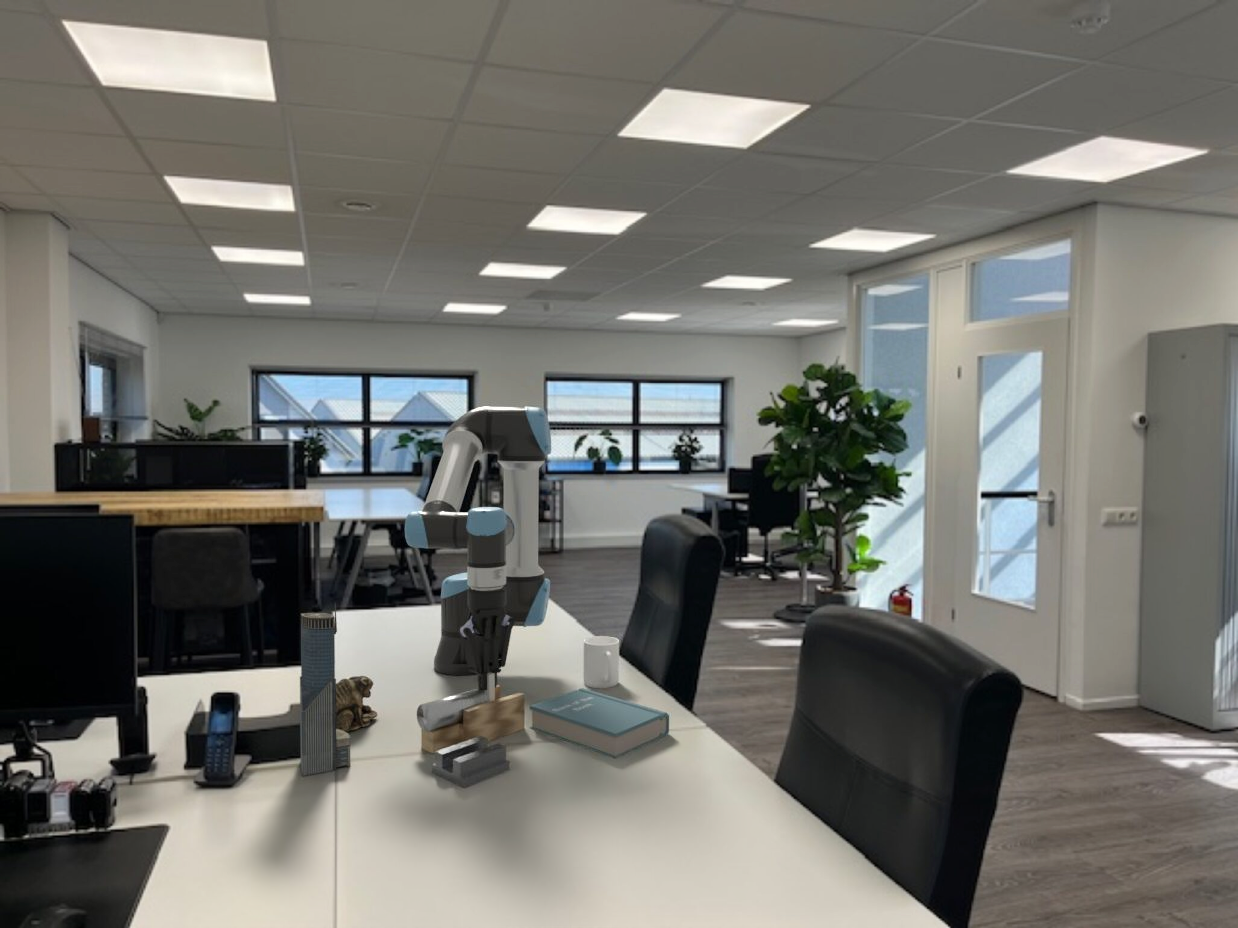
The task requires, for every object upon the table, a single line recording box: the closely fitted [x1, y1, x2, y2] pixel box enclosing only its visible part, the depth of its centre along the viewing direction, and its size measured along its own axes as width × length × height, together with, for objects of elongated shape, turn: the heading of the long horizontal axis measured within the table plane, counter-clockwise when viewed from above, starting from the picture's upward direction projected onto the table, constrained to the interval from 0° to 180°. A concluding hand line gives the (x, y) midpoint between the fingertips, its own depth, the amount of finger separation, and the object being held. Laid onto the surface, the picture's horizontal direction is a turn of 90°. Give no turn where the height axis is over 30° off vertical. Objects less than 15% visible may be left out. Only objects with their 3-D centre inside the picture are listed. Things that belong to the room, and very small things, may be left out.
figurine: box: [336, 675, 379, 732], centre depth 167 cm, size 6×14×10 cm, turn 137°
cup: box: [582, 635, 620, 689], centre depth 196 cm, size 8×12×10 cm
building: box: [299, 603, 351, 777], centre depth 148 cm, size 10×9×30 cm
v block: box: [431, 736, 511, 788], centre depth 147 cm, size 10×9×4 cm
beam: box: [420, 684, 526, 755], centre depth 164 cm, size 20×9×7 cm, turn 138°
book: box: [529, 687, 670, 759], centre depth 167 cm, size 23×16×5 cm
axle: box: [416, 687, 489, 732], centre depth 160 cm, size 13×5×5 cm, turn 138°
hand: (487, 704), depth 166 cm, fingers closed
